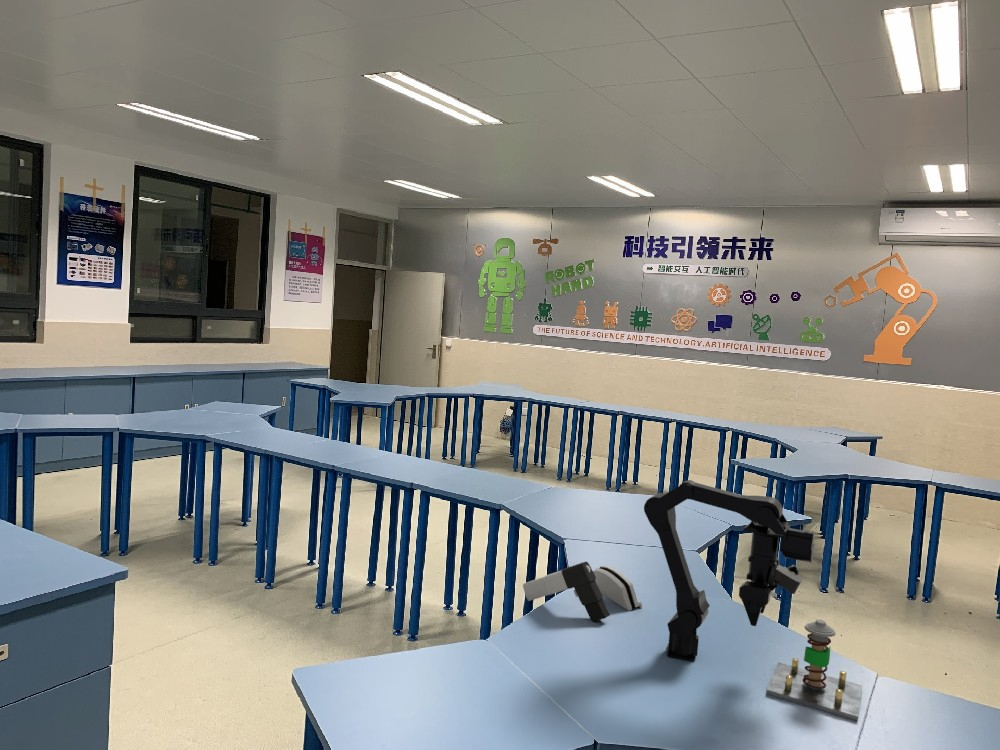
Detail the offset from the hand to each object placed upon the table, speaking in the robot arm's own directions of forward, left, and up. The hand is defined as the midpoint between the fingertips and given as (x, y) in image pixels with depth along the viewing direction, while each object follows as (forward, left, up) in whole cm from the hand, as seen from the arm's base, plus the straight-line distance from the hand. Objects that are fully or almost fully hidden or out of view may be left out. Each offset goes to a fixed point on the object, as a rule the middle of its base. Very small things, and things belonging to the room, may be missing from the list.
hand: (757, 619), depth 168 cm
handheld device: (-47, +19, -13) cm, 53 cm away
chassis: (+13, -4, -13) cm, 19 cm away
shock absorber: (+13, -4, -12) cm, 18 cm away
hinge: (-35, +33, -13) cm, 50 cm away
